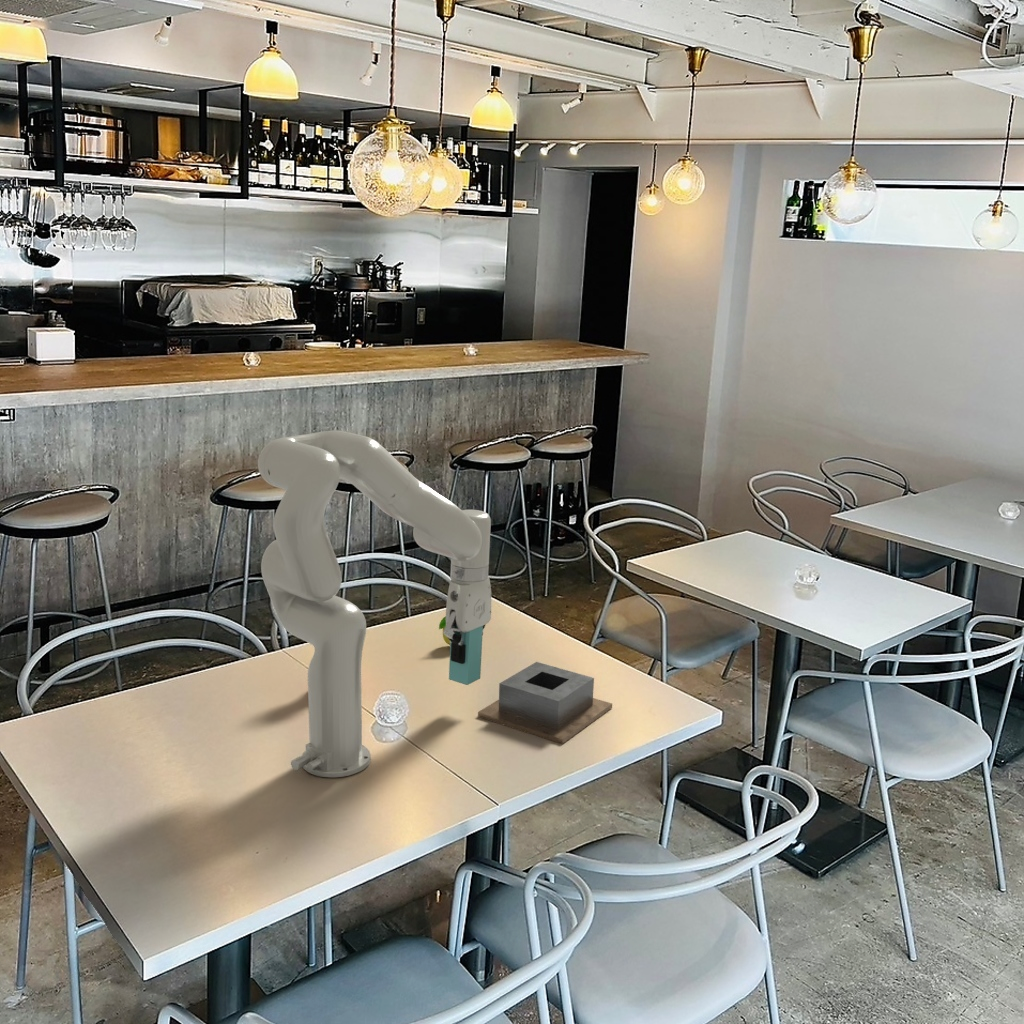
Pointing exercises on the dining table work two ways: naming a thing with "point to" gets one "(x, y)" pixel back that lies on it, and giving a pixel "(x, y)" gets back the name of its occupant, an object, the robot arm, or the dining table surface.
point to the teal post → (468, 659)
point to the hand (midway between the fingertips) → (465, 657)
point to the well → (546, 702)
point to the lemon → (443, 625)
